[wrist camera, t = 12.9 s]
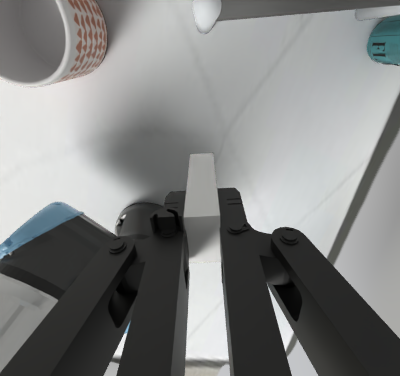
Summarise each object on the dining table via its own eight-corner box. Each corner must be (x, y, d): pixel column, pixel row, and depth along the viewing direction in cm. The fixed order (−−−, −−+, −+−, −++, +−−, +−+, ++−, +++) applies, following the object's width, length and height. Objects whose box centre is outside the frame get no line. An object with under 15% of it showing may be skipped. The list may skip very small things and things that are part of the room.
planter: (1, 23, 37) (-84, 14, 26) (47, -58, 32) (-32, -110, 21) (76, 94, 42) (32, 111, 31) (126, 33, 37) (95, 28, 26)
